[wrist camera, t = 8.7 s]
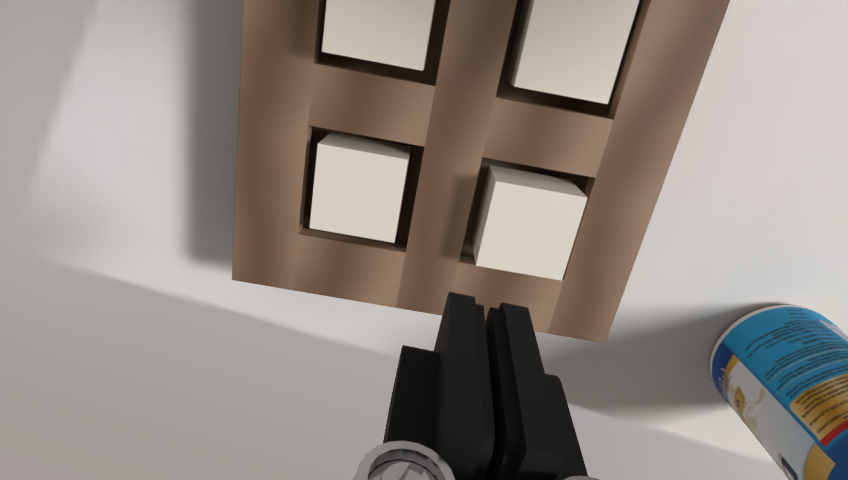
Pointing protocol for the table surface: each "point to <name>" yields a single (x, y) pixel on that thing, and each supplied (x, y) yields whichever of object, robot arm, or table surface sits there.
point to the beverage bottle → (789, 387)
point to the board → (457, 155)
